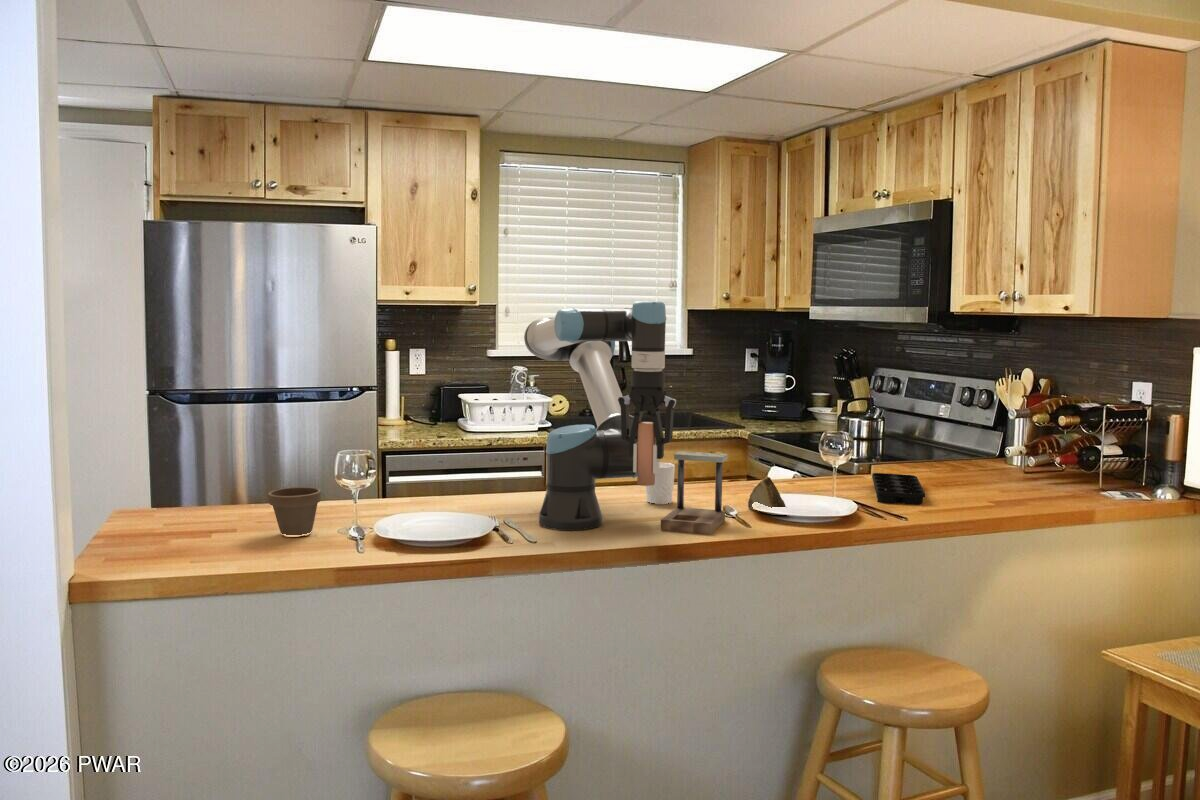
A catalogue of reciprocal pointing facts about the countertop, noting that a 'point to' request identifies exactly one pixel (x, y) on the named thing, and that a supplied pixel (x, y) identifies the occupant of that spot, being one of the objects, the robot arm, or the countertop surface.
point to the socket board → (693, 520)
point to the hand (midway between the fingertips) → (646, 471)
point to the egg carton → (898, 489)
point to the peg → (645, 454)
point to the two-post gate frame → (700, 457)
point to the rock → (766, 495)
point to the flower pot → (295, 508)
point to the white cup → (662, 485)
